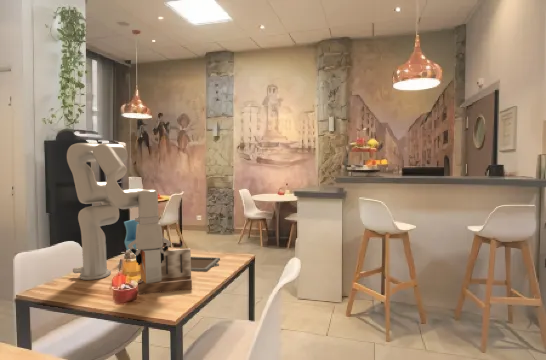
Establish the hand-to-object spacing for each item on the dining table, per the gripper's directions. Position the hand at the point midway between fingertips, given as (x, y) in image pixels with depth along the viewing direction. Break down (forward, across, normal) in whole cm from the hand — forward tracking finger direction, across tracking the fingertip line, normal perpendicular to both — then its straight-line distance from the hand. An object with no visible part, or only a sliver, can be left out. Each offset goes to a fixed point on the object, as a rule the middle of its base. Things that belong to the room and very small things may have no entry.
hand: (150, 263), depth 139 cm
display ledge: (+10, +6, 0) cm, 12 cm away
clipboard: (+11, +16, +28) cm, 34 cm away
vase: (+10, -12, +49) cm, 52 cm away
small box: (+7, 0, 0) cm, 7 cm away
